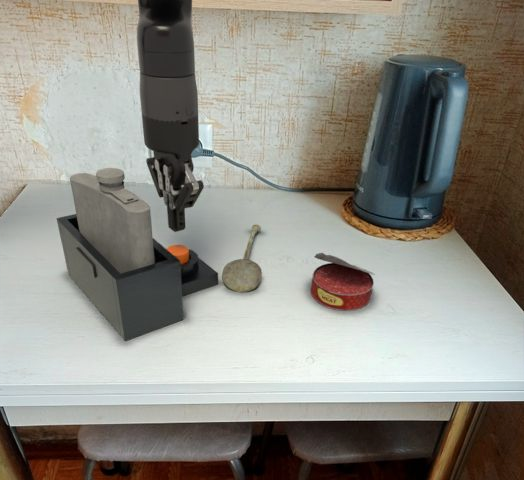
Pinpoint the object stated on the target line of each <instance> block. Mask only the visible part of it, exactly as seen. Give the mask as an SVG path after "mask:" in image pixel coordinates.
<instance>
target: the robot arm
mask: <svg viewBox="0 0 524 480" xmlns="http://www.w3.org/2000/svg"><path fill="white" fill-rule="evenodd" d="M137 5H138V20H137V26H136V46H137V57H138V68H139V69H138V70H139V100H140V111H141V112H140V113H141V121H142V132H143V142H144V145H145V147H146V148H147V149H149V151H152V153H153V156H152V157H147V158H146V159H145V162H146V166H147V169H148V171H149V173H150V176H151V179H152V182H153V184H154V187H155V190H156V192H157V195H158V197H159V198H160V199H161V198H163V204H164V205H165V206H166V212H167V226H168V228H169V229H170V230H171V231H173V232H174V233H178V232H181V231H184V230H185V229H186V209H188V208H193V207H194V206H195V204H196V202H197V200H198V199H199V197H200V195H201V193H202V192H203V189H204V188H205V187H204V182H203V180H201V179H199V180H197V179H196V177H195V175H194V173H193V172H194V167H195V165H194V161H193V157H192V153H193V152H194V150H196V149H197V148H198V147H199V145H200V130H199V95H198V93H199V92H198V85H197V79H196V57H195V55H196V53H195V39H194V30H193V22H192V21H193V18H192V16H193V0H137Z"/></svg>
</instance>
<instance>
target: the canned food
mask: <svg viewBox="0 0 524 480" xmlns="http://www.w3.org/2000/svg"><path fill="white" fill-rule="evenodd" d="M313 257H314V258H315V259H317V260H320V261H324V262H328V263H325V264H322V265H319V266H318V267H316V268H315V269H314V271H313V273H312V279H311V287H310V294H311V296H312V298H313V299H314V301H316V302H317V303H318V304H320V306H323V307H325V308H328V309H331V310H336V311H345V312H350V311H357V310H360V309H363V308H364V307H366V306H367V305H368V304H369V302H370V300H371V296H372V292H373V287H374V283H375V282H374V281H375V280H374V278H373V276H375V275H376V274H375V273H374V272H373V271H370V270H368V269H365V268H362V267H360V266H357V265H354V264H352V263H349V262H347V261H346V260H343V259H342V258H339V257H338V256H334V255H331V254H326V253H324V252H318V253H316V254H315V255H314V256H313ZM372 275H373V276H372Z"/></svg>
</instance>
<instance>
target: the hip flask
mask: <svg viewBox="0 0 524 480" xmlns="http://www.w3.org/2000/svg"><path fill="white" fill-rule="evenodd" d="M125 176H126V175H125V171H124V170H123V169H120V168H116V167H106V168H101V169H98V170H97V171H96V172H95V175H94V174H91V173H87V172H79V173H74V174H72V175H70V177H69V181H70V182H69V183H70V187H71V193H72V197H73V204H74V209H75V214H76V215H77V220H78V226H79V231H80V233H81V234H82V235H83V236H84V237H85V238H86V239H87V240H88V241H89V242H90V243H91V244H92V245H93V246H94V247H95V248H96V249H97V250H98V251H99V252H100V253H101V254H102V255H103V256H104V257H105V258H106V259H107V260H108V261H109V262H110V263H111V264H112V265H113V267H114V268H115V269H116V270H117V271H118V272H119V273H120V274H122V273H125V272H128V271H132V270H135V269H138V268H142V267H145V266H149V265H152V264H155V260H154V248H153V238H154V236H153V226H152V225H153V224H152V214H151V213H152V212H151V205H149V203H147V202H146V201H145V200H144V199H142V198H141V197H139V196H138V195H137V194H135V193H134V192H132V191H130V190H128V189H127V188H125V181H124V180H125V179H126V177H125Z"/></svg>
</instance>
